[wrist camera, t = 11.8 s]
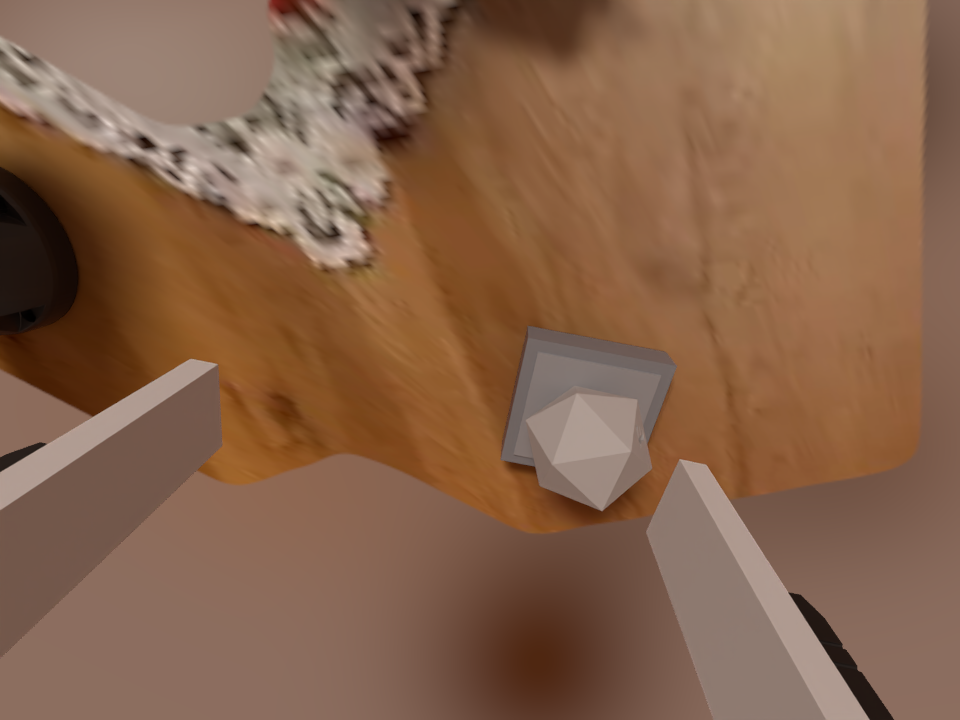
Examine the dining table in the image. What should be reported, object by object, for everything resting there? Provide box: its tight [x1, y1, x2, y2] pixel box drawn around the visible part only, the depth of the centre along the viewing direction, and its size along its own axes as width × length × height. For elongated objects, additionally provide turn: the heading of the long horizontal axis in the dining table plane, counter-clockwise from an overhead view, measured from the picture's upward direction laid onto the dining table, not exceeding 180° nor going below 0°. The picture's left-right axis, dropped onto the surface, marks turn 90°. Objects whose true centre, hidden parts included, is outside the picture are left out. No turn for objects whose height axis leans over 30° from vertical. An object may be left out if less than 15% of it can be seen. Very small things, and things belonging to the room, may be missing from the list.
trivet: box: [501, 326, 677, 467], centre depth 39 cm, size 12×12×3 cm
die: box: [526, 386, 652, 511], centre depth 34 cm, size 8×9×10 cm
